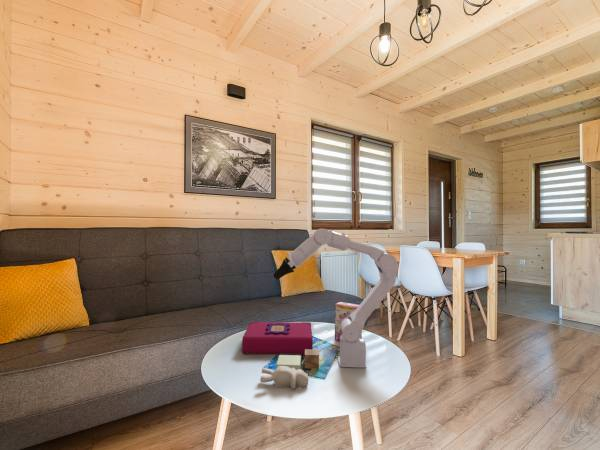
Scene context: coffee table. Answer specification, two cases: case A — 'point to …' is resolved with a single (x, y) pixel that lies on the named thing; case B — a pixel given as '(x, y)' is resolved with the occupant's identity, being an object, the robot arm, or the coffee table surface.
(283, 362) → the sage block
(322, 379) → the coffee table surface
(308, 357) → the walnut cube
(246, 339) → the book
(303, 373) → the bunny figurine
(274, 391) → the coffee table surface
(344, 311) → the candy bar box
